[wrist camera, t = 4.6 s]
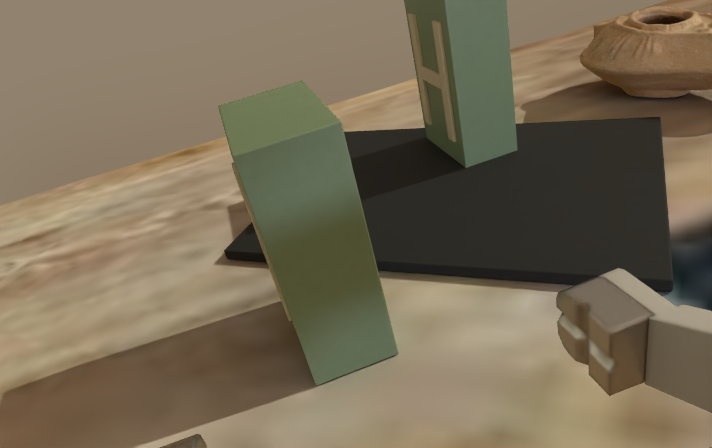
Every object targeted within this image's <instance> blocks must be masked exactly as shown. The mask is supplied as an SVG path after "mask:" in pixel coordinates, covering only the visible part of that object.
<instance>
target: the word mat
mask: <svg viewBox="0 0 712 448" xmlns="http://www.w3.org/2000/svg"><path fill="white" fill-rule="evenodd" d="M344 135H345V139H346V143H347V147H348V151H349V155H350V159H351V164H352V168H353V172H354V176H355V180H356V184H357V188H358V192H359V196H360V200H361V204H362V208H363V212H364V216H365V220H366V224H367V228H368V233H369V237H370V241H371V245H372V249H373V253H374V257H375V261H376V265H377V269H378V270H384V271H398V272H411V273H425V274H439V275H452V276H466V277H479V278H493V279H506V280H520V281H534V282H547V283H561V284H574V285H578V284H580V283H583V282H585V281H588V280H590V279H593V278H595V277H598V276H600V275H602V274H605V273H607V272H610V271H612V270H615V269H617V268H620V269H624V270H626V271H627V272H628V273H630V274H631V275H633V276H634V277H635V278H637V279H638V280H640V281H641V282H642V283H644V284H645V285H647V286H648V287H649V288H651V289H652V290H656V291H669V292H671V291H672V290H673V270H672V258H671V245H670V233H669V220H668V208H667V195H666V183H665V171H664V158H663V146H662V133H661V121H660V117H647V118H626V119H605V120H584V121H563V122H542V123H522V124H516V137H517V151H514V152H511V153H508V154H505V155H502V156H499V157H497V158H494V159H491V160H488V161H485V162H482V163H479V164H476V165H473V166H470V167H468V168H465V167H464V166H463V165H461V164H460V163H459V162H458V161H456V160H455V159H454V158H452V157H451V156H450V155H448V154H447V153H446V152H445V151H443V150H442V149H441V148H439V147H438V146H437V145H435V144H434V143H433V142H431V141H430V140H429V139H428V138H427V136H426V130H425V128H417V129H396V130H375V131H354V132H344ZM224 252H225V255H226V257H227V259H235V260H249V261H262V262H267V261H266V258H265V256H264V253H263V250H262V247H261V245H260V242H259V239H258V237H257V234H256V231H255V228H254V226H253V223H251V224H250V225H249V226H248V227H247V228H246V229H245V230H244V231H243V232H242V233H241V234H240V235H239V236H238V237H237V238H236V239H235V240H234V241H233V242H232V243H231V244H230V245H229V246H228V247H227V248H226V249H225V250H224Z"/></svg>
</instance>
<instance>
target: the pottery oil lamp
mask: <svg viewBox="0 0 712 448" xmlns="http://www.w3.org/2000/svg"><path fill="white" fill-rule="evenodd" d="M580 62H581V64H582V65H583V66H584V67H586V68H587V69H588V70H590V71H591V72H593V73H594V74H595V75H597V76H599V77H600V78H602V79H603V80H605V81H607V82H609V83H611V84H614V85H616V86H618V87H621V88H622V90H623V91H624V92H626V93H627V94H628V95H631V96H636V97H655V98H669V97H678V96H682V95H686V94H687V93H689V92H690V91H691V90H707V89H712V14H710V13H699V12H695V11H693V10H685V9H679V8H672V7H649V8H646V9H644V10H642V11H636V12H633V13H632V14H631V16H628V17H624V16H621V17H619V18H616V19H615V20H612V21H608V22H604V23H599V24H597V25H594V39H593V40H592V42H591V43H590V44H589V46H588V48H586V49H585V50H584V51H583V52H582V53H581V56H580Z"/></svg>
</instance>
